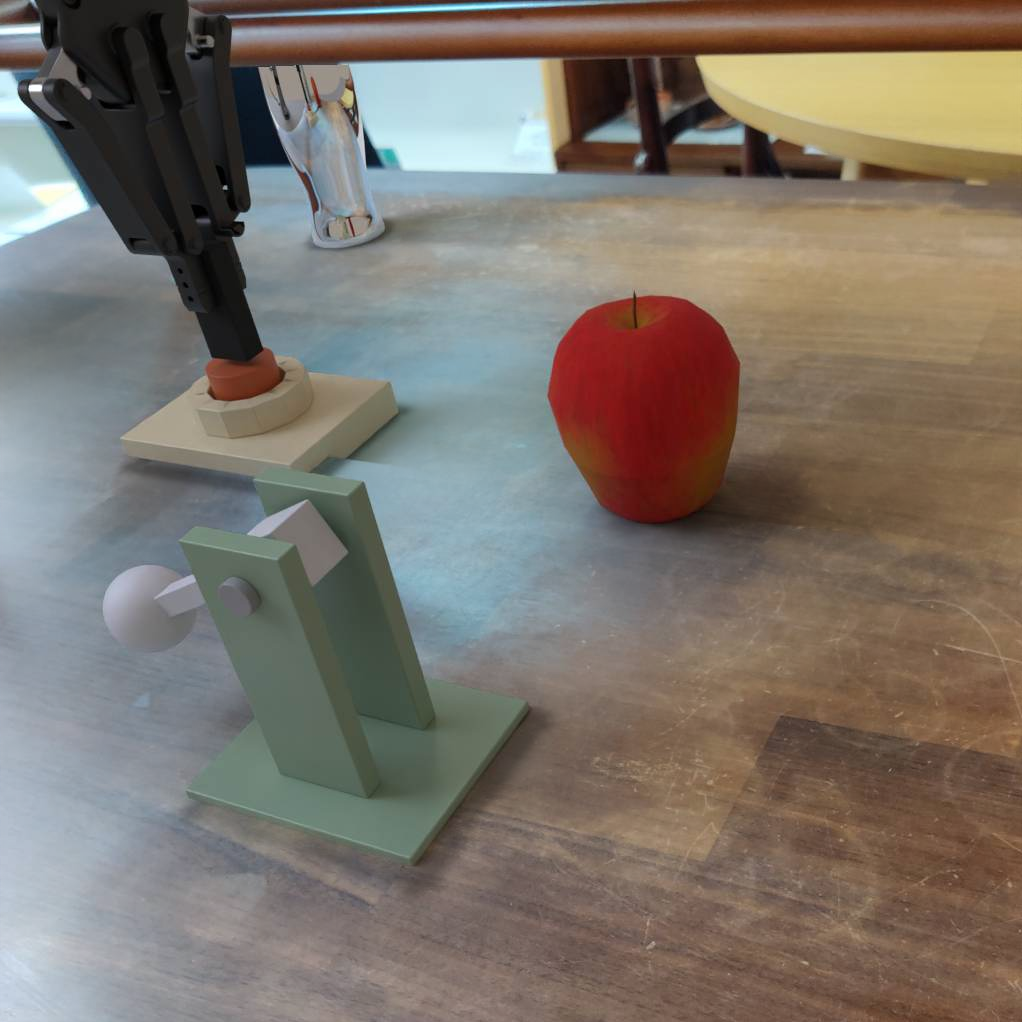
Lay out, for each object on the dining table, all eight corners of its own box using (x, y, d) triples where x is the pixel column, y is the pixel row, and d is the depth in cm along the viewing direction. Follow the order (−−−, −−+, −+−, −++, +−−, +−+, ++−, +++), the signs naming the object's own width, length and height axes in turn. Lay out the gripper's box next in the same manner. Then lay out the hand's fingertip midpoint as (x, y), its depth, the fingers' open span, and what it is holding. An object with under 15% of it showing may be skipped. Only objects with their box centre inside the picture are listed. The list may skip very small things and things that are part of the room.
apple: (749, 459, 65) (734, 243, 58) (750, 554, 58) (733, 323, 51) (581, 470, 66) (544, 260, 59) (562, 566, 60) (518, 341, 52)
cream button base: (132, 469, 73) (106, 410, 70) (238, 392, 80) (217, 335, 77) (301, 498, 68) (280, 436, 65) (399, 412, 75) (383, 353, 72)
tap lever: (128, 677, 50) (68, 609, 49) (186, 625, 52) (130, 559, 51) (311, 613, 42) (245, 529, 40) (370, 554, 44) (310, 473, 43)
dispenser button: (201, 400, 71) (190, 373, 70) (244, 369, 74) (234, 343, 73) (253, 407, 69) (243, 380, 68) (295, 375, 72) (286, 348, 71)
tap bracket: (195, 813, 49) (64, 558, 41) (326, 674, 55) (234, 428, 47) (419, 883, 45) (322, 613, 37) (534, 724, 51) (472, 463, 43)
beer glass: (362, 214, 105) (312, 26, 95) (406, 229, 100) (358, 34, 91) (293, 241, 101) (234, 49, 92) (335, 257, 97) (278, 58, 88)
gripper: (17, -95, 49) (213, 414, 64) (222, -148, 58) (354, 311, 73) (-103, -84, 52) (111, 400, 67) (110, -136, 61) (258, 303, 76)
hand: (237, 353), depth 70 cm, fingers closed
